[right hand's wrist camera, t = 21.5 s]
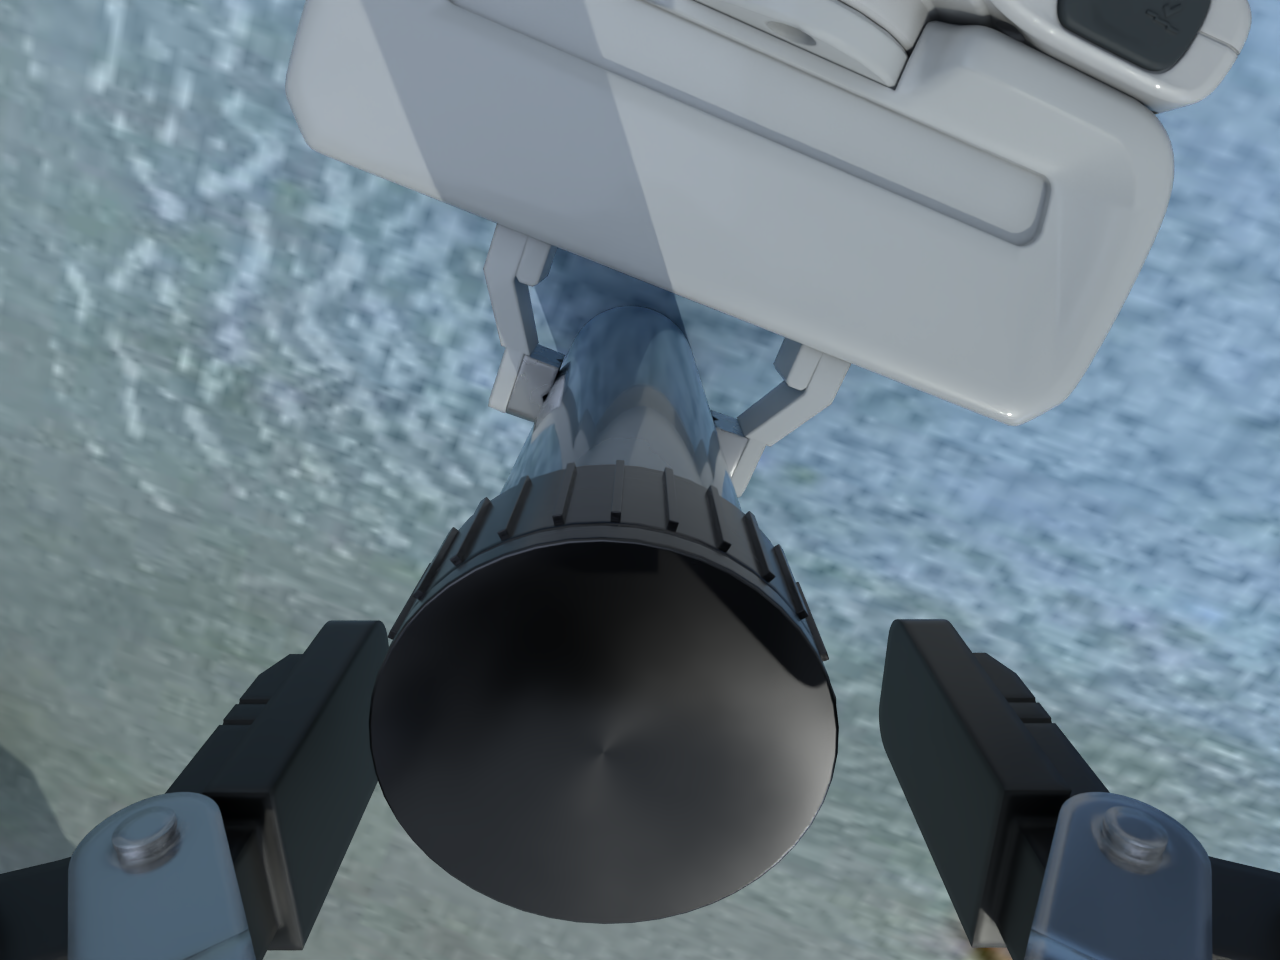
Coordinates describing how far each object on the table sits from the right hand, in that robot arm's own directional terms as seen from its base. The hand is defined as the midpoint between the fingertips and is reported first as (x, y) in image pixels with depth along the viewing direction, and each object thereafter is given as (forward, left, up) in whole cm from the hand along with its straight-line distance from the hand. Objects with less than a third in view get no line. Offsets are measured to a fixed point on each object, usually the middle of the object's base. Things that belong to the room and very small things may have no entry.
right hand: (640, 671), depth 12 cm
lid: (-1, +1, +3) cm, 3 cm away
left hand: (-1, 0, -11) cm, 11 cm away
